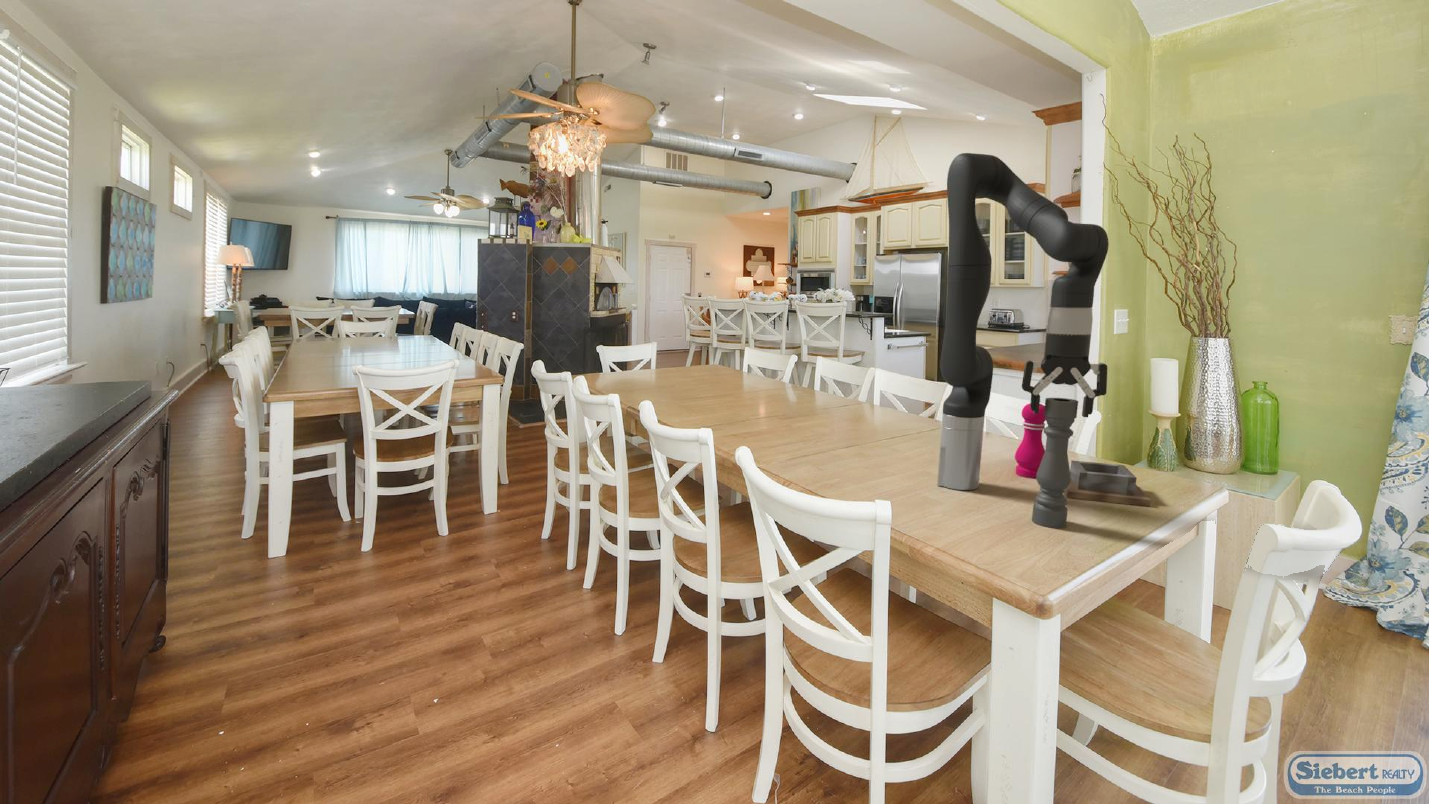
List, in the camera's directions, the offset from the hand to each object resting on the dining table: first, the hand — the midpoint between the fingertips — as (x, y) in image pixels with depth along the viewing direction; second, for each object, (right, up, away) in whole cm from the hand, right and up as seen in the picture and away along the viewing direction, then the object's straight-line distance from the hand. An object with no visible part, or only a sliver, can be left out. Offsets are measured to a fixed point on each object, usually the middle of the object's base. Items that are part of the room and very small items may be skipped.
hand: (1060, 414), depth 123 cm
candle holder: (0, -22, +4) cm, 22 cm away
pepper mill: (+12, -16, +37) cm, 42 cm away
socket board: (+22, -18, +24) cm, 37 cm away
